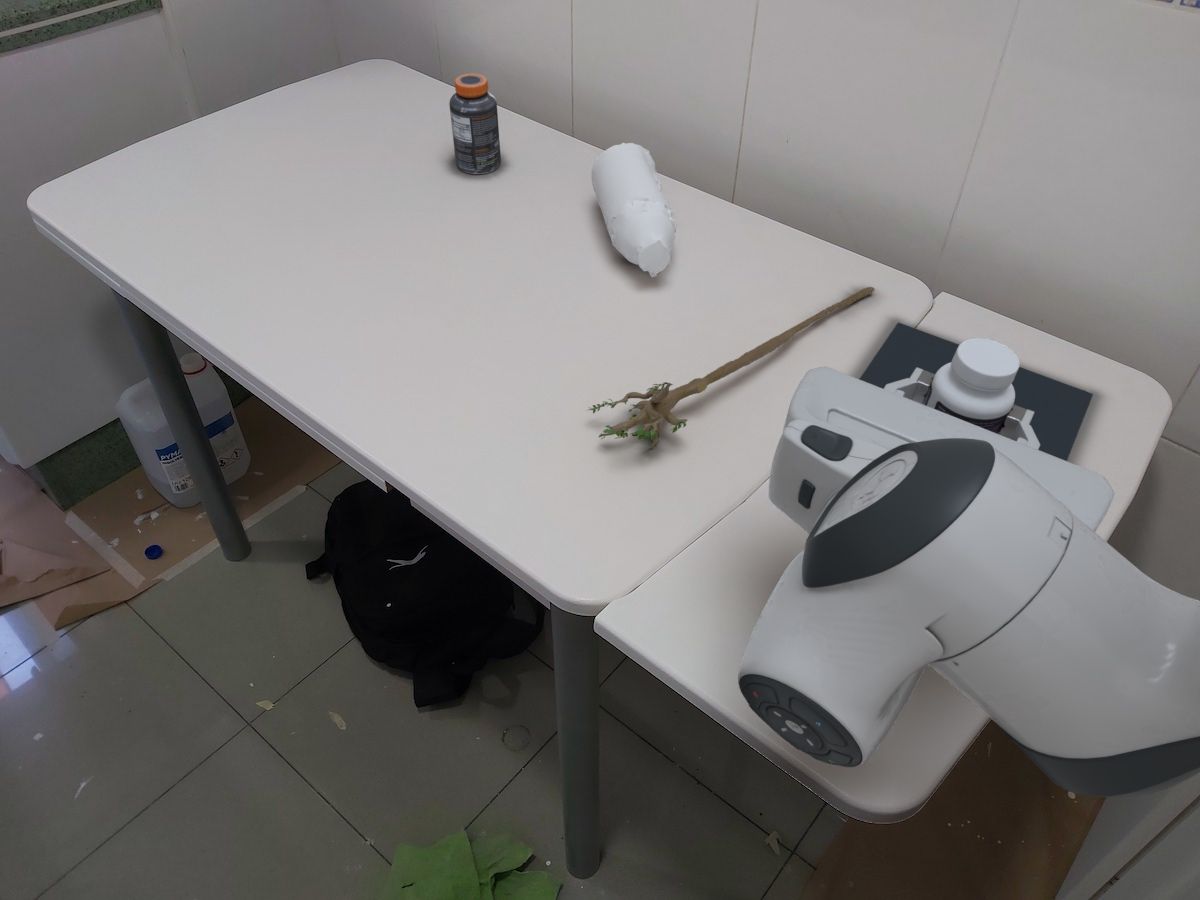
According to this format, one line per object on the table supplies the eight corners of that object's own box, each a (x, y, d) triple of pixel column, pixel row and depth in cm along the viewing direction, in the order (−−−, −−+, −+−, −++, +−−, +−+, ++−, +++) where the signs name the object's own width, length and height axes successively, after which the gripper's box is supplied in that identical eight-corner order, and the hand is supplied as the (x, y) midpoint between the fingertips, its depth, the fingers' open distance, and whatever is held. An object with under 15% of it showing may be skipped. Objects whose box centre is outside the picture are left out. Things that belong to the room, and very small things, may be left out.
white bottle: (616, 294, 97) (618, 231, 91) (590, 204, 110) (591, 144, 104) (686, 288, 98) (693, 226, 92) (653, 199, 111) (657, 140, 105)
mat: (1092, 395, 87) (1093, 393, 87) (1058, 482, 79) (1058, 481, 79) (897, 323, 94) (898, 322, 94) (847, 396, 86) (848, 395, 86)
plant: (866, 290, 98) (884, 227, 92) (921, 327, 94) (944, 263, 88) (572, 430, 82) (572, 364, 77) (622, 483, 78) (626, 416, 72)
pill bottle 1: (499, 152, 119) (494, 67, 110) (502, 174, 115) (497, 88, 106) (455, 154, 118) (446, 69, 110) (456, 176, 114) (447, 90, 106)
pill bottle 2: (994, 481, 63) (1047, 379, 56) (923, 489, 63) (968, 387, 56) (961, 429, 67) (1007, 327, 60) (894, 435, 66) (932, 333, 59)
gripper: (1106, 569, 47) (1151, 421, 55) (760, 420, 55) (844, 309, 63) (1059, 634, 52) (1107, 488, 60) (745, 488, 59) (826, 376, 67)
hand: (970, 395), depth 61 cm, fingers closed on pill bottle 2, 5 cm apart
